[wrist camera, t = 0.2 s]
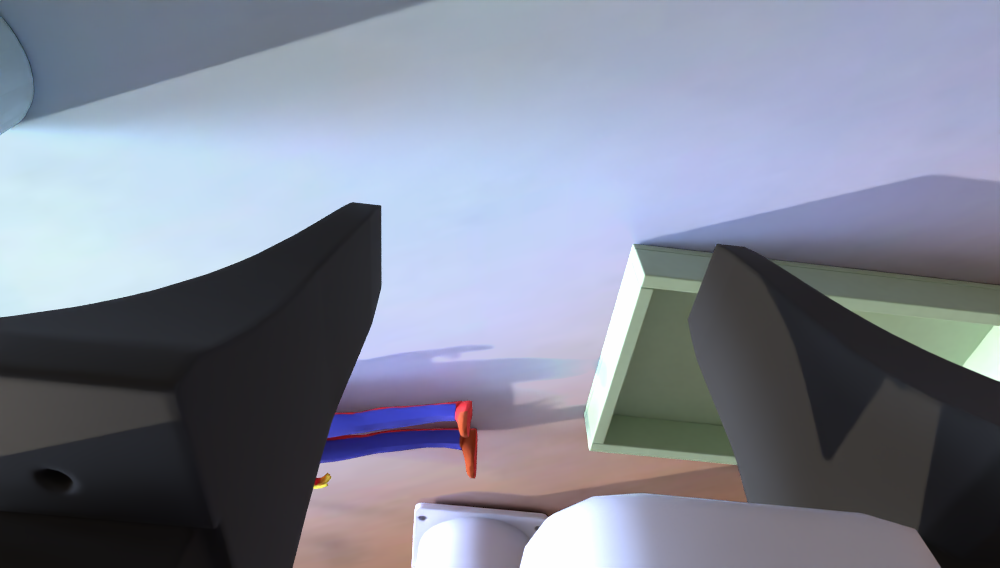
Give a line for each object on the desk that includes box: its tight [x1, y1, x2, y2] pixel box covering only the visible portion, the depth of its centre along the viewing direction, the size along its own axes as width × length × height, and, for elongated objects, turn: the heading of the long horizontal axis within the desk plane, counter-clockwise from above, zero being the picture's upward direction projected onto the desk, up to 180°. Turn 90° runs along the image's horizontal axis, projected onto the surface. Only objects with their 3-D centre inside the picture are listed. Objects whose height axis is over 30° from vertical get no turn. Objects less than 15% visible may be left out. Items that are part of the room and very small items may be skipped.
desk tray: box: [584, 244, 1000, 465], centre depth 25 cm, size 10×17×2 cm, turn 83°
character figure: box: [313, 401, 477, 489], centre depth 28 cm, size 6×4×20 cm
